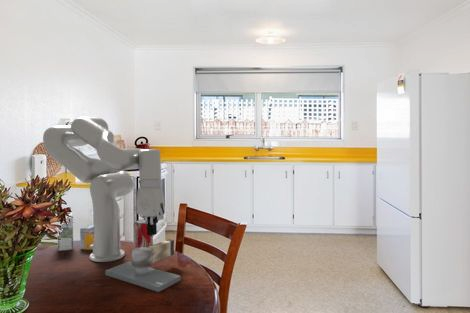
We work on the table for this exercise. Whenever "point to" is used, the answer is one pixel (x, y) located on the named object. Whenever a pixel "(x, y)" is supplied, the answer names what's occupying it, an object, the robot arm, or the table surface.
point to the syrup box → (66, 236)
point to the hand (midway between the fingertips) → (151, 234)
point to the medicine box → (84, 230)
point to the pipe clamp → (88, 241)
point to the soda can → (142, 235)
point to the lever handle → (152, 253)
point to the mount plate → (143, 276)
